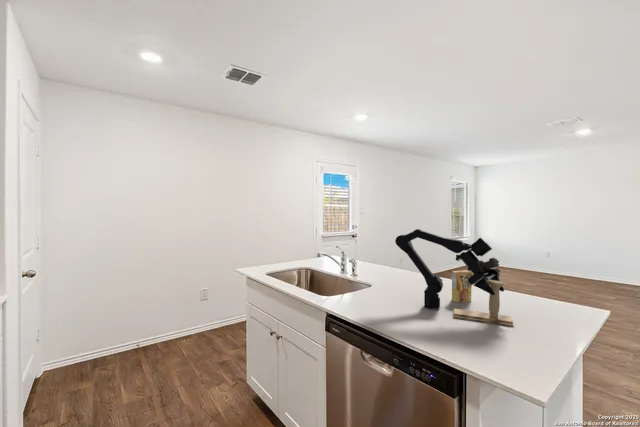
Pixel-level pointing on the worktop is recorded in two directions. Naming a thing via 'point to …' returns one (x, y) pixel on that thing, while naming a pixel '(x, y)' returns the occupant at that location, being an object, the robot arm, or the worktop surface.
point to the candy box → (461, 286)
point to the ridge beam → (483, 317)
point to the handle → (494, 297)
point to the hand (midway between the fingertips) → (498, 292)
